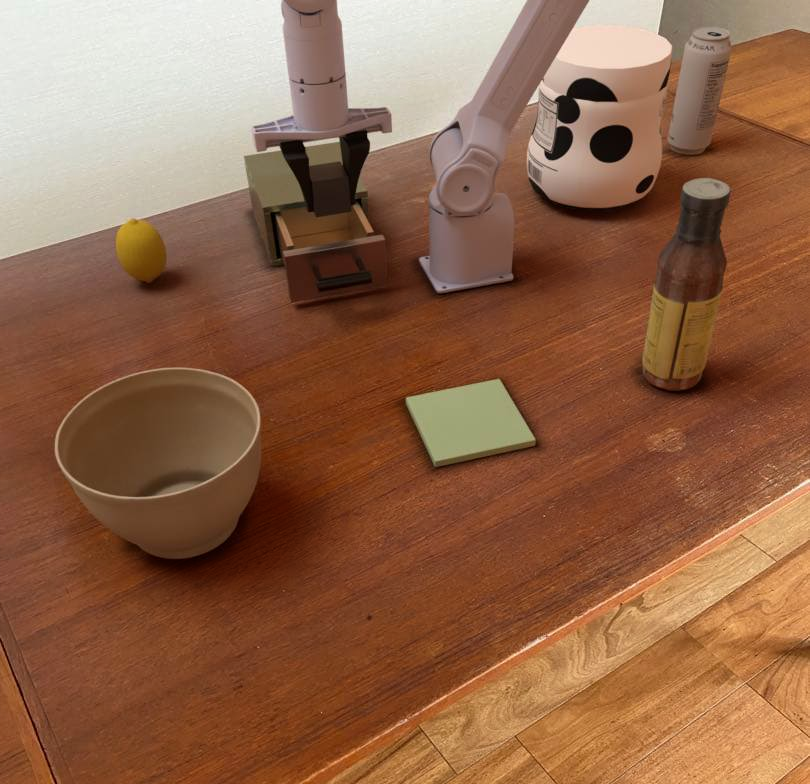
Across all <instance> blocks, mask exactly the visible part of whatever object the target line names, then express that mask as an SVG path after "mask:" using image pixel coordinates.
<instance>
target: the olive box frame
mask: <svg viewBox="0 0 810 784" xmlns="http://www.w3.org/2000/svg"><path fill="white" fill-rule="evenodd" d="M305 149H306V153H307V156H308V158H309V166H312V165H319V164H325V163H332V162H338V161H340V162H341V163H342V155H341V148H340V141H336V142H335V141H334V142H329V143H321V144H315V145H308V146H305ZM243 160H244V166H245V167H244V168H245V172H246V173H245V174H246V180H247V185H248V190H249V196H250V203H251V208H252V214H253V217H254V219H255V222H256V225H257V228H258V231H259V234H260V236H261V239H262V242H263V245H264V247H265V251H266V254H267V256H268V259H269V263H270V265H271V267H278V266H285V265H284V262H283V260H282V257H281V254H280V252H279V249H278V246H277V243H276V237H275V231H274V224H273V218H272V212H278V211H284V210H290V209H296V208H303V207H306V206H305V202H304V198H303V194H302V191H301V188H300V185H299V183H298V181H297V179H296V177H295V175H294V174H293V172H292V170H291V168H290V167H289V165H288V164H287V162H286V160H285V158H284V156H283V154H282V151H281V150H275V151H274V150H273V151H267V152H261V153H260V152H259V153H255V154H247V155H243ZM342 165H343V163H342ZM355 199H356V200H357V201H358V203H359V205H360V207H361V209H362V211H363V213H364V215H365V216H366V218H367V220H368V222H369V224H370V225H371V223H370V209H369V208H370V207H369V192H368V189H367V187H366V185H365V184H364V182H363V180H362V178H361V177H360V176H359V180H358V184H357V189H356V195H355Z"/></svg>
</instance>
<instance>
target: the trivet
mask: <svg viewBox="0 0 810 784" xmlns="http://www.w3.org/2000/svg"><path fill="white" fill-rule="evenodd" d="M405 405H406V407H407V409H408V412H409V413H410V416H411V419H412V420H413V423H414V425H415V426H416V428H417V431H418V433H419V435H420V438H421V439H422V442H423V444H424V446H425V448H426V451H427V453H428V456H429V457H430V459H431V461H432V463H433V466H434V467H435V468H440V467H444V466H448V465H453V464H458V463H463V462H466V461H471V460H475V459H476V460H477V459H480V458H484V457H489V456H495V455H499V454H503V453H508V452H513V451H518V450H522V449H526V448H531V447H535V446H536V442H537V439H536V438H535V436H534V434H533V432H532V430H531V429H530V427H529V426H528V424H527V422H526V421H525V419H524V418H523V415H522V414H521V412H520V411H519V409H518V407H517V405H516V404H515V402H514V401H513V399H512V397H511V396H510V394H509V393H508V390H507V389H506V387H505V385H504V383H503V382H502V381H501V378H496V379H491V380H486V381H481V382H476V383H471V384H467V385H462V386H455V387H452V388H447V389H441V390H437V391H432V392H431V391H430V392H427V393H426V392H425V393H421V394H417V395H411V396H406V397H405Z"/></svg>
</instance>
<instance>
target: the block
mask: <svg viewBox="0 0 810 784" xmlns="http://www.w3.org/2000/svg"><path fill="white" fill-rule="evenodd" d="M309 173H310V185H311V191H312V196H313V204H314V214H315V216H316V217H322V216H329V215H335V214H341V213H347V212H351V202H350V190H349V178H348V175H347V173H346V171H345V169H344V167H343V165H342V163H341V162H340V161H338V162H332V163H325V164H319V165H312V166H309Z"/></svg>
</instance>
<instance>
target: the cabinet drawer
mask: <svg viewBox="0 0 810 784" xmlns="http://www.w3.org/2000/svg"><path fill="white" fill-rule="evenodd" d="M272 218H273V224H274V231H275V237H276V243H277V246H278V249H279V252H280V254H281V257H282V260H283V262H284V265H283V266H284V270H285V276H286V277H285V278H286V282H287V283H286V284H287V289H288V290H287V291H288V296H289V300H290V302H291V303H297V302H303V301H308V300H309V301H310V300H314V299H315V300H316V299H320V298H327V297H331V296H337V295H343V294H348V293H354V292H359V291H365V290H370V289H376V288H382V287H386V286H388V268H387V249H386V247H387V246H386V238H385V236H384V235H383V234H378V235H375V232H374V230H373V228H372V226H371V223H370V221H369V222H368V220H367V218H366V216H365V215H364V213H363V211H362V209H361V207H360V205H359V203H358V201H357V200H356V199H355V205H353V206H351V212H347V213H341V214H335V215H329V216H322V217H316V216H315V214H314V212H308V211H307V208H306V207H303V208H296V209H290V210H284V211H278V212H272ZM369 223H370V224H369Z"/></svg>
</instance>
